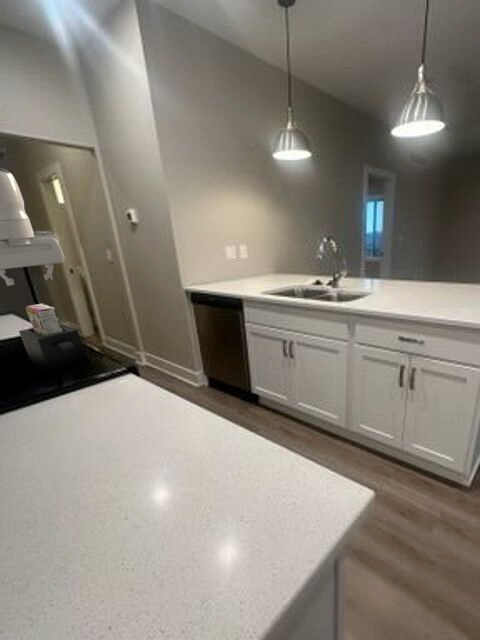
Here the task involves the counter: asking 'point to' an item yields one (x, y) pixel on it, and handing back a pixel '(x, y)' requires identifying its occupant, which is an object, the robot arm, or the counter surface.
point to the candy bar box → (43, 319)
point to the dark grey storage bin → (54, 350)
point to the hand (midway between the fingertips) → (30, 282)
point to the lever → (64, 345)
